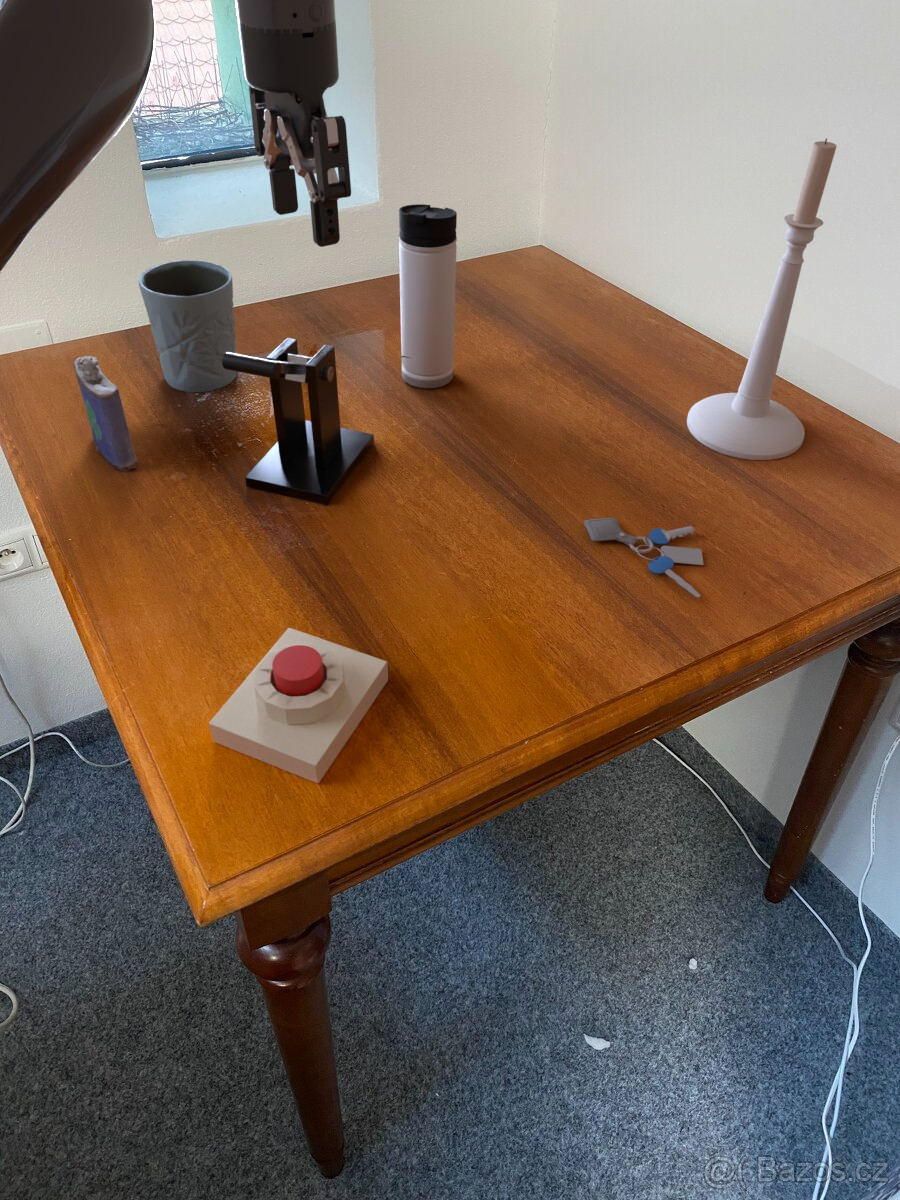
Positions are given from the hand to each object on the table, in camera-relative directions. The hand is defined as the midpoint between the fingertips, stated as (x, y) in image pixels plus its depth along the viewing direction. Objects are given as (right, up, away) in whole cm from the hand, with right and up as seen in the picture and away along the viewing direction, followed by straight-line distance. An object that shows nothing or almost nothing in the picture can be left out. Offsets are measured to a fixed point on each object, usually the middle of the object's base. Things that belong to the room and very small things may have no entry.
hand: (306, 227), depth 79 cm
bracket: (-1, -19, +13) cm, 23 cm away
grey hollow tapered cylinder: (-17, -7, +27) cm, 32 cm away
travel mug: (+10, -7, +27) cm, 30 cm away
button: (+2, -39, -14) cm, 42 cm away
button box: (+2, -42, -11) cm, 44 cm away
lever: (-3, -13, +2) cm, 14 cm away
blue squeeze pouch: (-23, -18, +14) cm, 32 cm away
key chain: (+33, -29, +4) cm, 44 cm away
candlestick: (+46, -14, +20) cm, 52 cm away
